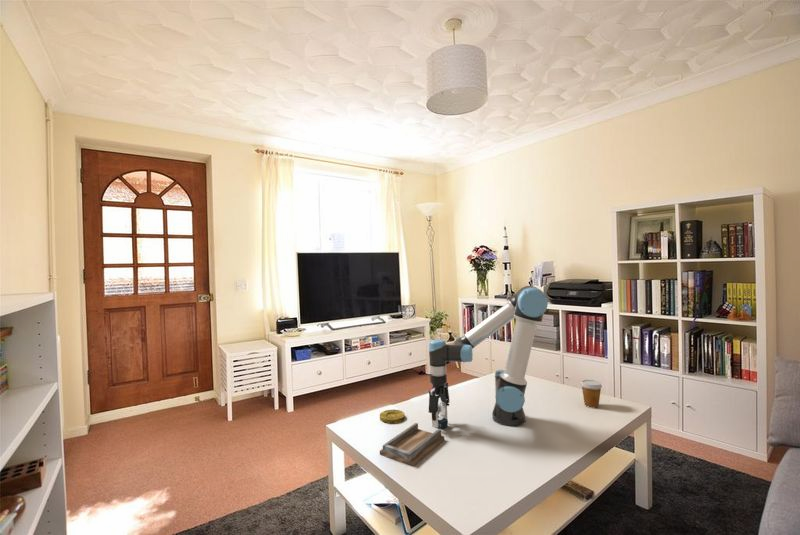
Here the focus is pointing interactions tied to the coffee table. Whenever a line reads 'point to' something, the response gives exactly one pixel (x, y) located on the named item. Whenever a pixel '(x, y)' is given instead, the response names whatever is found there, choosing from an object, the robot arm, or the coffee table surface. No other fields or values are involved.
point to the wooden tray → (412, 445)
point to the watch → (442, 415)
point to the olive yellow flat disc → (392, 416)
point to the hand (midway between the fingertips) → (440, 423)
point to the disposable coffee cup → (591, 392)
